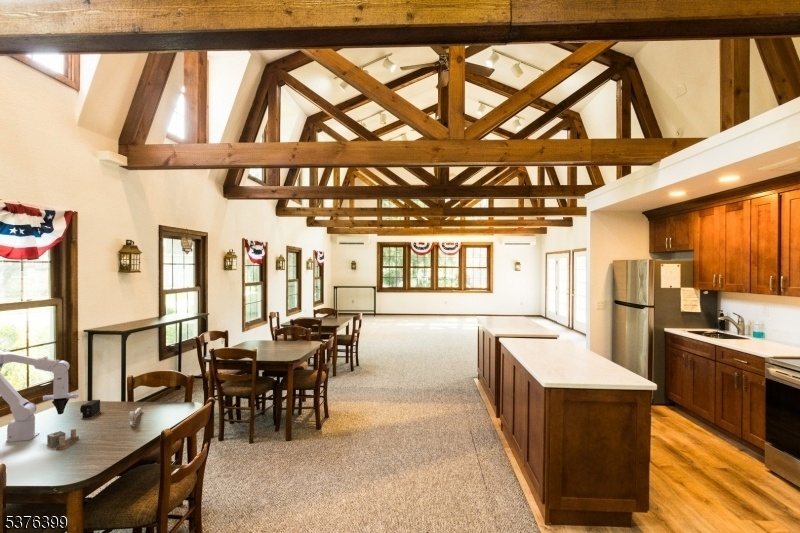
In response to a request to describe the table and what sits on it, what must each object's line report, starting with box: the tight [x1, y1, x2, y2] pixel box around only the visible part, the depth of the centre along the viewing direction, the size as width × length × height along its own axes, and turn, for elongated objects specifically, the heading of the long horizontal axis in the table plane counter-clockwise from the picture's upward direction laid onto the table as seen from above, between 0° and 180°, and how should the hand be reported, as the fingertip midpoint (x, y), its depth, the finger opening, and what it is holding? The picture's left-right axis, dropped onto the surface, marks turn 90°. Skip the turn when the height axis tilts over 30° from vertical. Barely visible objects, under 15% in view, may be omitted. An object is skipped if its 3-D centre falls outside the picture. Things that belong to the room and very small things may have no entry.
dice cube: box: [46, 431, 66, 449], centre depth 192 cm, size 5×5×5 cm
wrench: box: [128, 407, 142, 427], centre depth 224 cm, size 8×2×30 cm
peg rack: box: [55, 428, 80, 451], centre depth 193 cm, size 3×12×5 cm, turn 12°
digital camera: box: [79, 399, 101, 419], centre depth 233 cm, size 10×5×7 cm, turn 13°
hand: (60, 413), depth 207 cm, fingers closed
